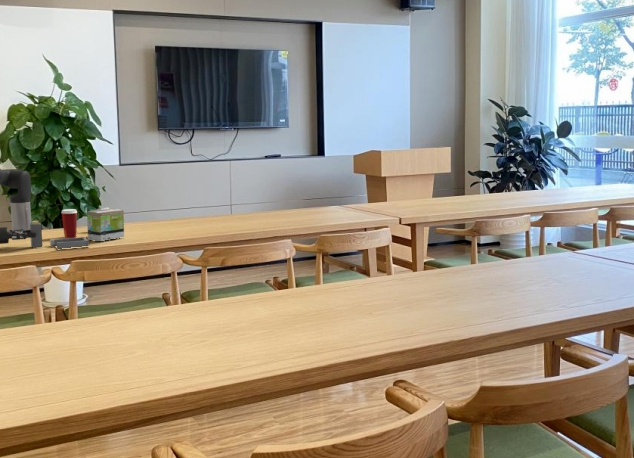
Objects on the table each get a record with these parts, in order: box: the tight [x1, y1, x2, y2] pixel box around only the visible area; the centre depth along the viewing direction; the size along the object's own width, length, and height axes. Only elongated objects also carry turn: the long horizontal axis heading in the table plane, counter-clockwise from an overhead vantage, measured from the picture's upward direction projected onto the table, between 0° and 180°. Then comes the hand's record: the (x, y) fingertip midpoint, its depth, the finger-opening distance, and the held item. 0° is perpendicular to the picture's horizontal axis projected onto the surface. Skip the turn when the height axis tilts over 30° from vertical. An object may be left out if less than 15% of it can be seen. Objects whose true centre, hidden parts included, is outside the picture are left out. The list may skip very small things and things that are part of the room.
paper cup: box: [60, 208, 78, 239], centre depth 344 cm, size 8×8×14 cm
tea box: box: [86, 208, 125, 242], centre depth 339 cm, size 15×10×15 cm, turn 148°
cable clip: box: [49, 238, 55, 247], centre depth 322 cm, size 3×4×3 cm
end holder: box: [53, 236, 90, 250], centre depth 319 cm, size 10×14×4 cm
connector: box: [30, 220, 43, 248], centre depth 318 cm, size 4×4×12 cm
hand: (34, 233), depth 318 cm, fingers open, 8 cm apart
